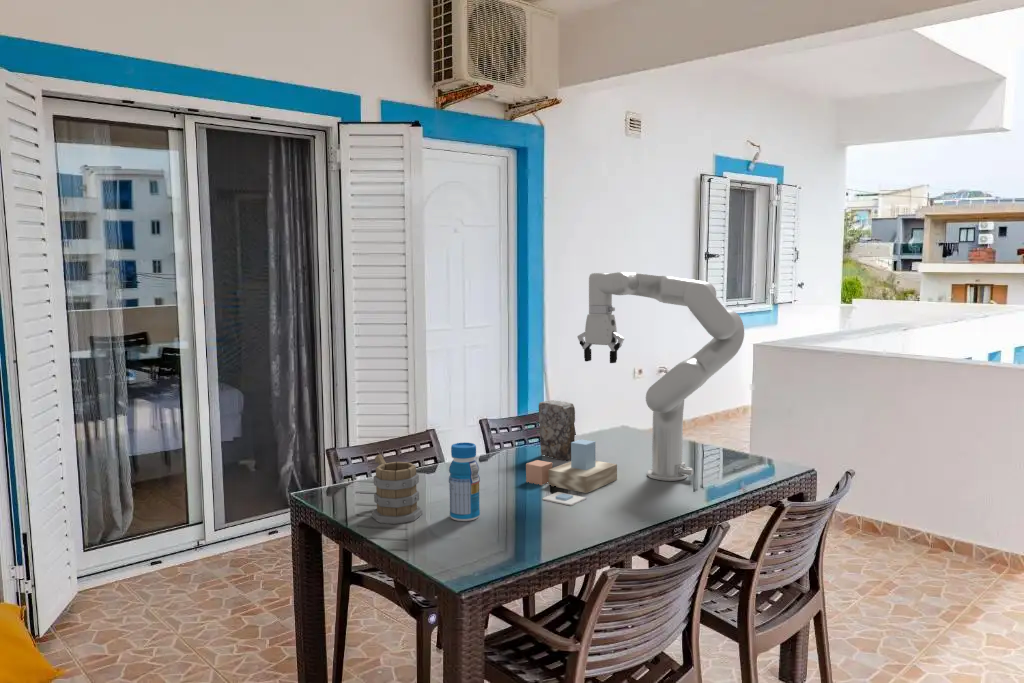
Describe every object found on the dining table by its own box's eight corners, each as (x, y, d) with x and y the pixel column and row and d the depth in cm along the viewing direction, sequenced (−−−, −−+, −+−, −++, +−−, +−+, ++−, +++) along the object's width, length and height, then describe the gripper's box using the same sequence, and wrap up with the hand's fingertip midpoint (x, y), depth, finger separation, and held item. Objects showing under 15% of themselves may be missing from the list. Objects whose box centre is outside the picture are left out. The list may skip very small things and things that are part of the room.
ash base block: (617, 479, 239) (617, 464, 238) (586, 493, 225) (586, 476, 224) (580, 472, 247) (580, 458, 247) (548, 485, 233) (548, 469, 233)
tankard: (427, 518, 203) (426, 464, 202) (383, 526, 197) (381, 471, 196) (400, 499, 221) (399, 449, 219) (359, 506, 214) (357, 455, 213)
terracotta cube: (552, 481, 238) (552, 462, 238) (541, 485, 234) (541, 466, 233) (537, 478, 242) (537, 459, 242) (526, 482, 237) (525, 463, 237)
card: (586, 498, 219) (586, 495, 219) (570, 505, 213) (570, 502, 213) (557, 493, 225) (557, 489, 225) (542, 499, 219) (542, 496, 219)
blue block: (595, 466, 236) (595, 441, 235) (586, 470, 232) (586, 444, 231) (580, 463, 239) (580, 439, 239) (571, 467, 235) (571, 442, 234)
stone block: (537, 456, 270) (536, 401, 268) (549, 452, 276) (548, 399, 274) (566, 462, 262) (566, 405, 260) (578, 458, 267) (578, 402, 265)
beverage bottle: (452, 523, 199) (451, 449, 197) (446, 513, 207) (445, 442, 205) (483, 520, 201) (482, 447, 199) (476, 510, 209) (475, 440, 207)
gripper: (629, 310, 244) (629, 362, 246) (584, 309, 255) (584, 359, 257) (617, 311, 239) (617, 364, 240) (572, 310, 249) (572, 361, 251)
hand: (600, 361), depth 248 cm, fingers open, 9 cm apart
